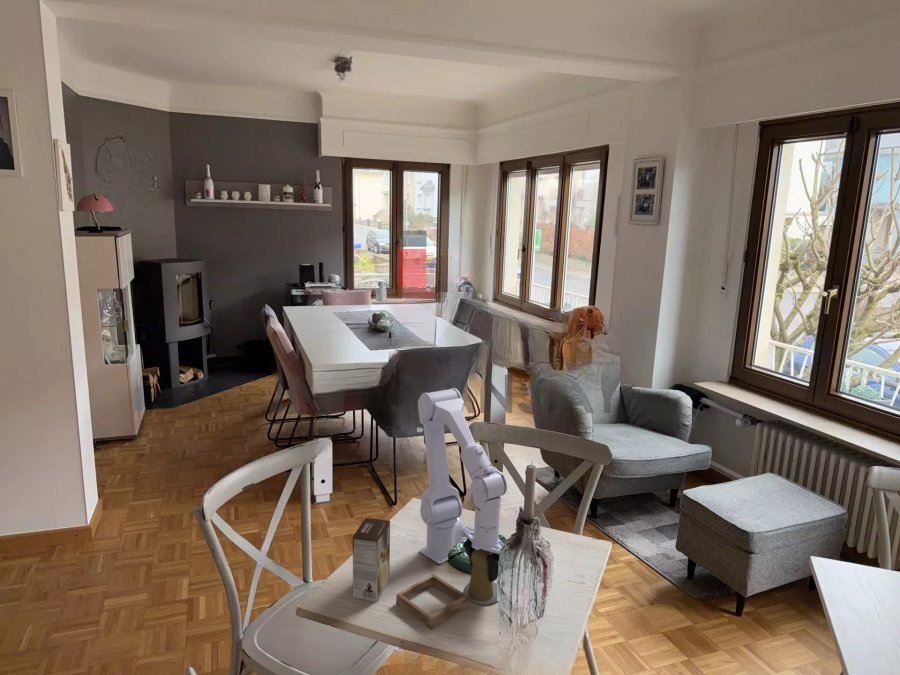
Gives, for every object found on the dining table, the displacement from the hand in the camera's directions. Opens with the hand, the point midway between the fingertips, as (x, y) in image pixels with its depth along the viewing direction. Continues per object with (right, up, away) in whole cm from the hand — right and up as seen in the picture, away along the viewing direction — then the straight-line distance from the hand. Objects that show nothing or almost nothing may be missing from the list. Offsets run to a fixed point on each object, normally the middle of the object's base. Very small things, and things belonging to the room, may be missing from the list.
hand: (484, 574), depth 145 cm
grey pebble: (0, -5, +1) cm, 5 cm away
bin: (-12, -6, -4) cm, 14 cm away
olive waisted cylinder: (-1, -5, 0) cm, 5 cm away
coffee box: (-27, -4, +1) cm, 27 cm away
